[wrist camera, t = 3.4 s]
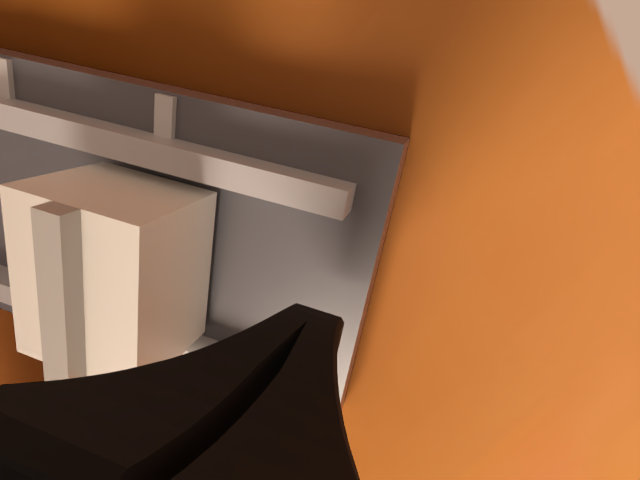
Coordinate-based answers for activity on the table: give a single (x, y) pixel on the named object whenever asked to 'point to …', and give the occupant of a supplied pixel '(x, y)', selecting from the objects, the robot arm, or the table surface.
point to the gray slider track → (221, 184)
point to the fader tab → (106, 267)
